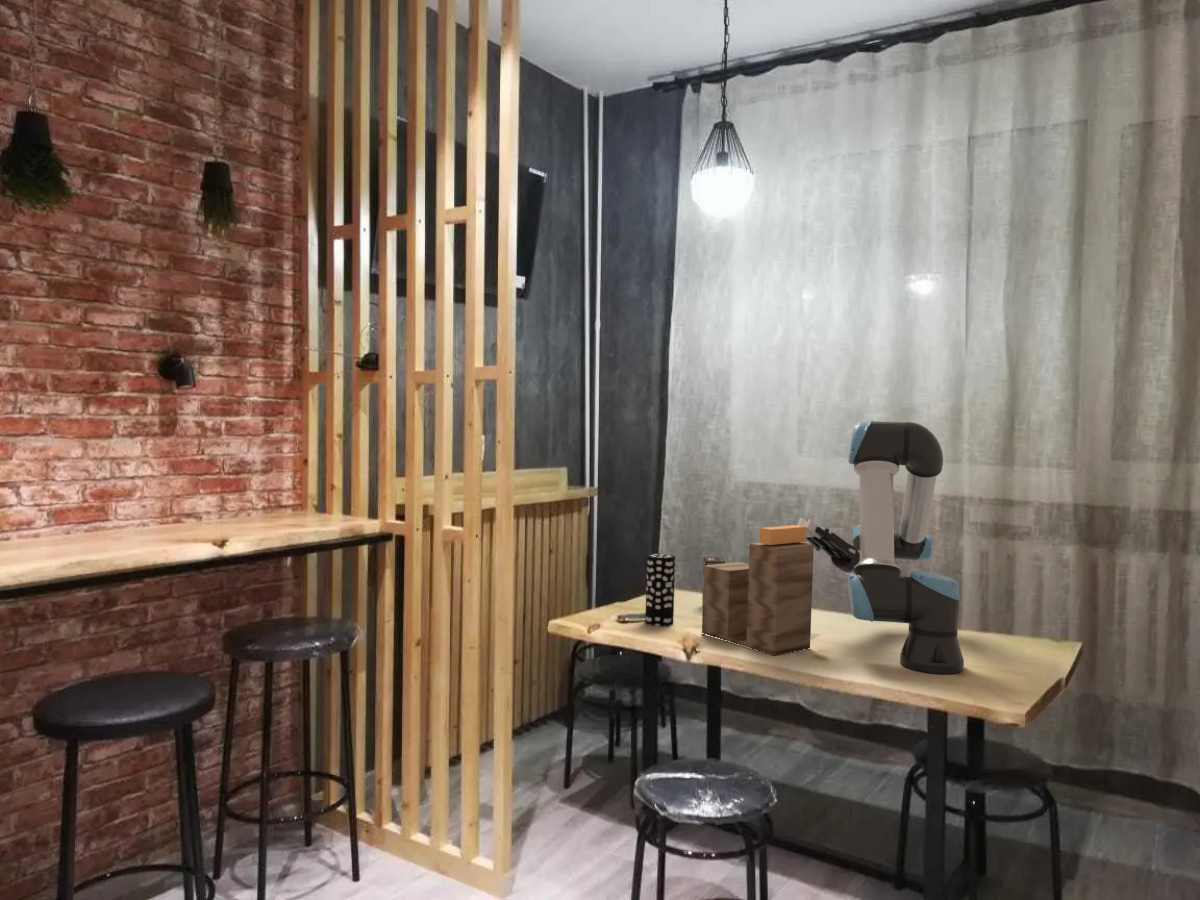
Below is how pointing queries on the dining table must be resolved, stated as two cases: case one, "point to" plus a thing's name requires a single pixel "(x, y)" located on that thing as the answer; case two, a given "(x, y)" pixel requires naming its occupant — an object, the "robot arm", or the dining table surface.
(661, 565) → the white-spotted black cylinder
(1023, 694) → the dining table surface
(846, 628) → the dining table surface
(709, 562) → the coffee box
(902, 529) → the robot arm
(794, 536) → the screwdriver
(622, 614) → the dining table surface
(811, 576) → the stepped wooden block
